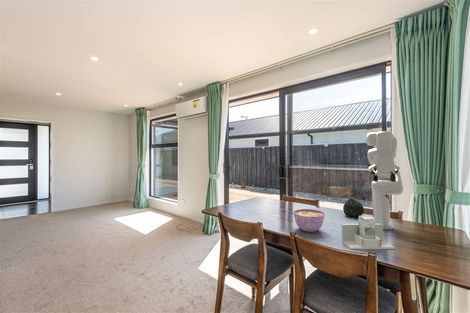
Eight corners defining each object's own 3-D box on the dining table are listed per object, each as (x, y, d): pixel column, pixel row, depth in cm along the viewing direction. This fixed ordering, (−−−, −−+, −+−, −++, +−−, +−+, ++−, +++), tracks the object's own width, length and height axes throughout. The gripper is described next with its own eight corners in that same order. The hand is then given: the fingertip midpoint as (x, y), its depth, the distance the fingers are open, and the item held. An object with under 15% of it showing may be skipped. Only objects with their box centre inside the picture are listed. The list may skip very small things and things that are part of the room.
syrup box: (368, 240, 125) (368, 215, 125) (375, 245, 119) (375, 218, 119) (358, 241, 125) (358, 215, 125) (364, 245, 119) (364, 218, 119)
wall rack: (342, 241, 128) (341, 224, 127) (381, 241, 127) (381, 223, 127) (351, 249, 117) (350, 230, 117) (394, 249, 116) (393, 230, 116)
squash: (367, 208, 178) (353, 193, 183) (367, 213, 165) (352, 197, 170) (353, 218, 184) (339, 203, 189) (352, 224, 171) (337, 208, 176)
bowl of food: (297, 223, 161) (296, 207, 161) (326, 227, 152) (326, 210, 152) (290, 232, 143) (289, 214, 143) (323, 237, 134) (323, 218, 134)
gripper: (394, 152, 134) (395, 180, 134) (365, 153, 135) (365, 181, 135) (403, 152, 126) (403, 182, 127) (372, 153, 127) (372, 182, 127)
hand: (384, 181), depth 131 cm, fingers open, 9 cm apart
